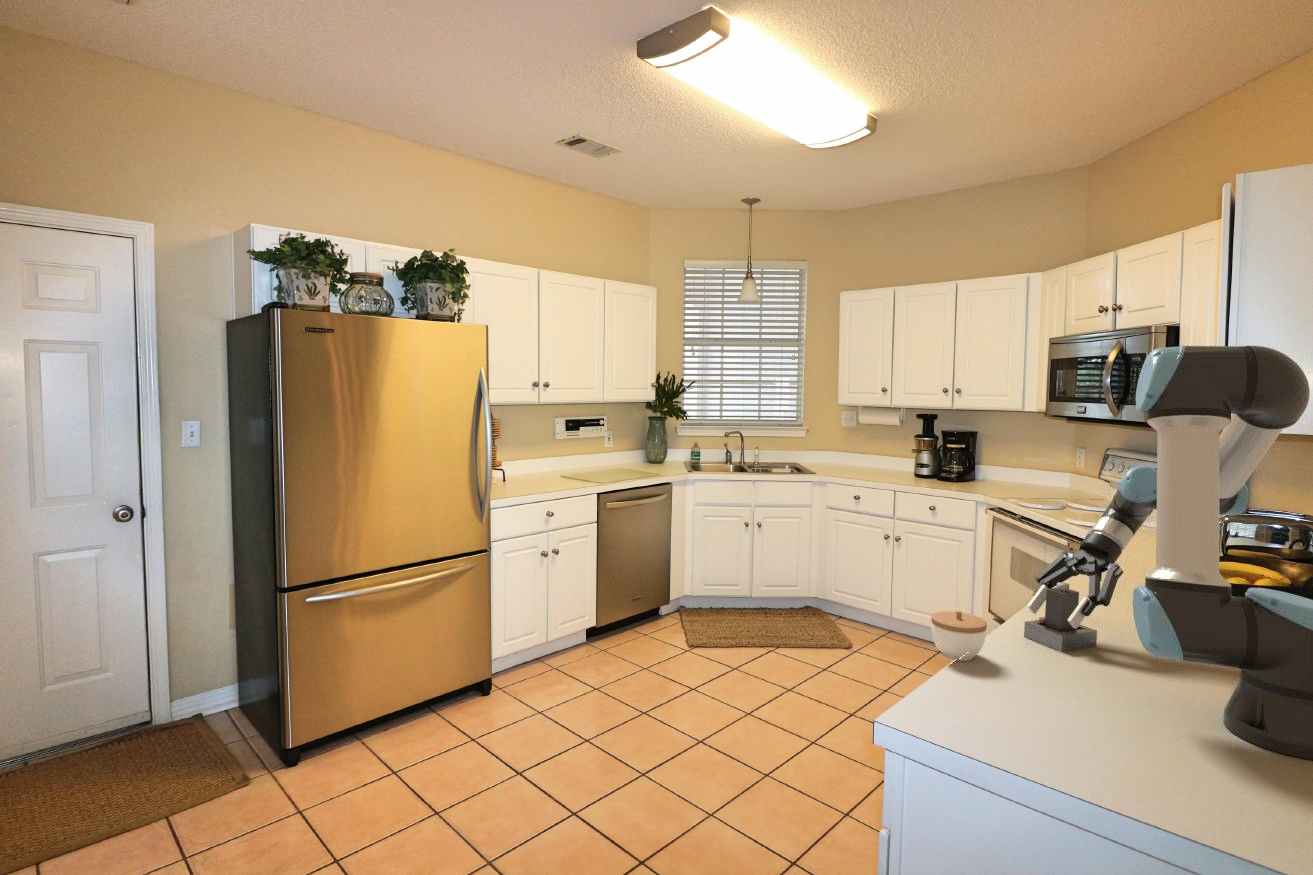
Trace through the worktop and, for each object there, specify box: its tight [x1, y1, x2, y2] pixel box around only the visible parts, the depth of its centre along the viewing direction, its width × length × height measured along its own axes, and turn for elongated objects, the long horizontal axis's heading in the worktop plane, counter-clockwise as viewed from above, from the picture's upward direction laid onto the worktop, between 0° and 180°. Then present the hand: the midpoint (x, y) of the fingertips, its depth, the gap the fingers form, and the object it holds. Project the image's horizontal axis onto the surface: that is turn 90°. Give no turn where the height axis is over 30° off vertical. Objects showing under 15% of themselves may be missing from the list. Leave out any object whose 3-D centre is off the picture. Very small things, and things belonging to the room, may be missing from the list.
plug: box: [1044, 582, 1080, 632], centre depth 154 cm, size 4×5×12 cm
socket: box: [1023, 616, 1098, 652], centre depth 154 cm, size 10×10×4 cm
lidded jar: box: [930, 610, 988, 662], centre depth 145 cm, size 11×11×9 cm
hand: (1050, 616), depth 153 cm, fingers open, 9 cm apart
